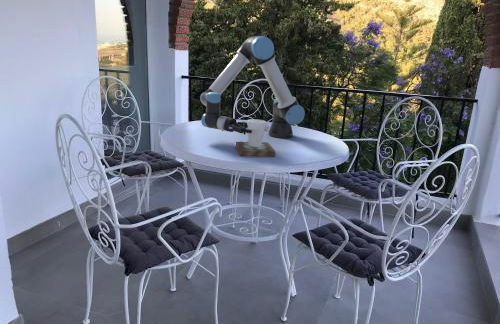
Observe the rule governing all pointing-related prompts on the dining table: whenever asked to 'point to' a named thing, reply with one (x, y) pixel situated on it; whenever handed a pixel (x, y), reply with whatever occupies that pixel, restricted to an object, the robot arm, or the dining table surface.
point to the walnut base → (255, 150)
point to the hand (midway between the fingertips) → (263, 130)
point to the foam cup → (260, 126)
